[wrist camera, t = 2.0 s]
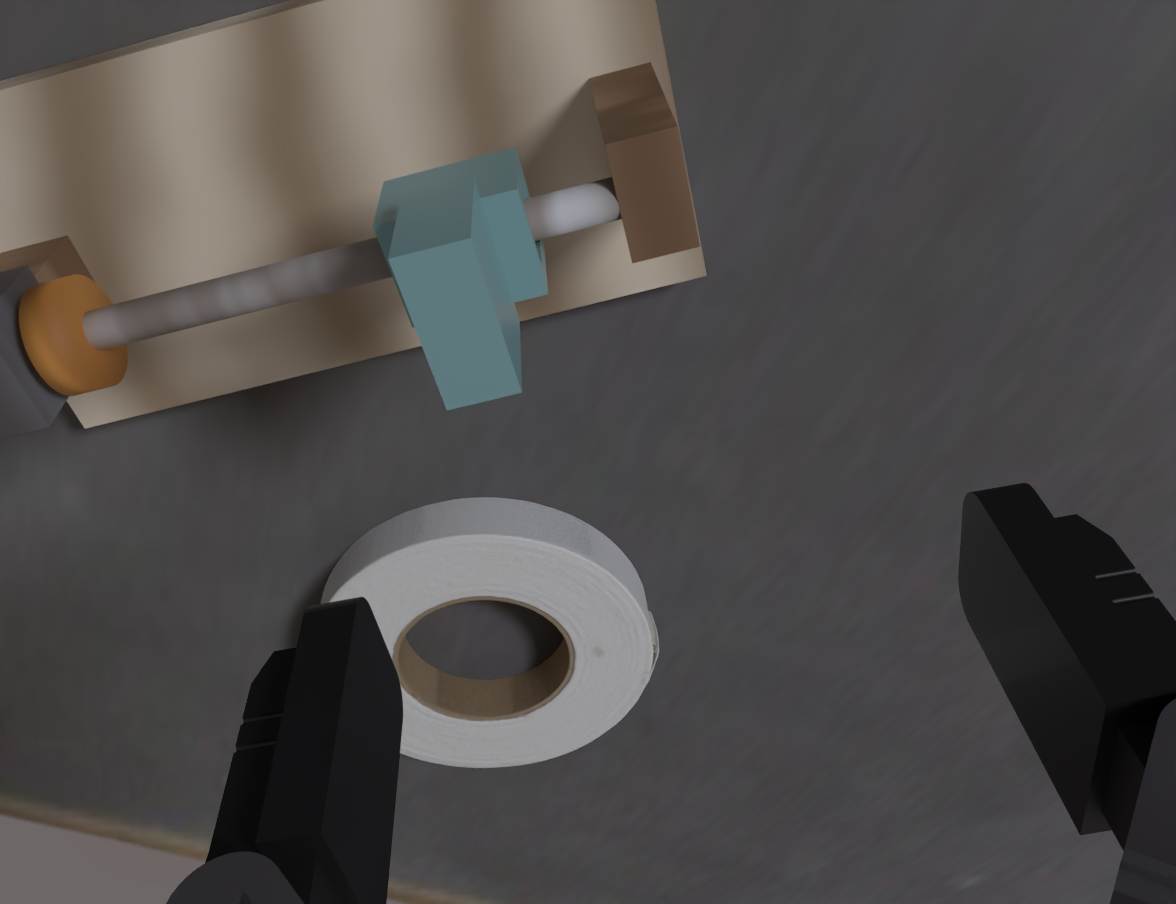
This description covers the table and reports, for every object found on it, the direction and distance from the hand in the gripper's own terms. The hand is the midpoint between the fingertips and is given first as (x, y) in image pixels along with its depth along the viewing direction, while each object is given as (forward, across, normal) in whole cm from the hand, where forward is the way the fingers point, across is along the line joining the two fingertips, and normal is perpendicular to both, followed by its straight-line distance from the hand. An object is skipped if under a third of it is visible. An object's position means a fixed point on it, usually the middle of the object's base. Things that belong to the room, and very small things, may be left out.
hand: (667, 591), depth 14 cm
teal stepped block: (+19, +4, +2) cm, 20 cm away
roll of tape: (+26, +8, +24) cm, 36 cm away
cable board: (+25, +9, +2) cm, 26 cm away
